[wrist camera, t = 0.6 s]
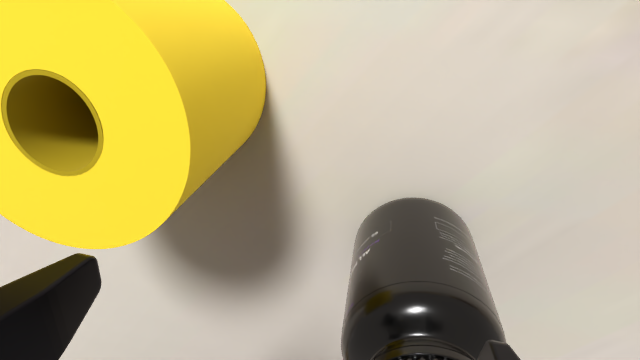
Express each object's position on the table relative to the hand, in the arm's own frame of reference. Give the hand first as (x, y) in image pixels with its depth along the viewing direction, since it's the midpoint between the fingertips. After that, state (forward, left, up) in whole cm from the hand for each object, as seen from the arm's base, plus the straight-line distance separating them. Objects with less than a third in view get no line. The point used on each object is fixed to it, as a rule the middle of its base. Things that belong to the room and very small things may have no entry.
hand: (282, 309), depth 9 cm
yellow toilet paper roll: (-1, +10, -15) cm, 18 cm away
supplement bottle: (-5, -6, -15) cm, 17 cm away
